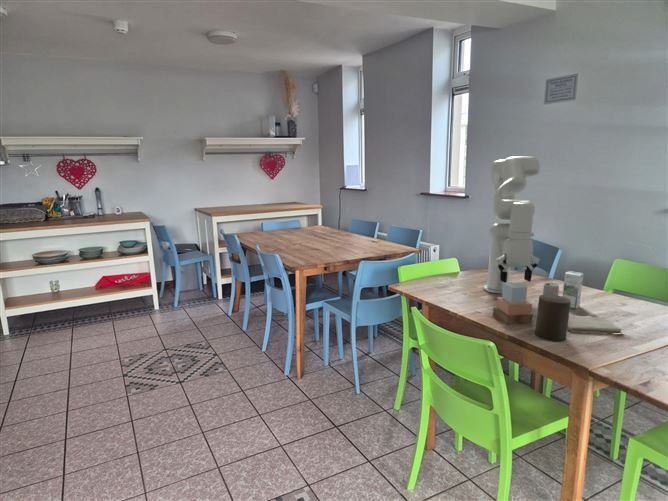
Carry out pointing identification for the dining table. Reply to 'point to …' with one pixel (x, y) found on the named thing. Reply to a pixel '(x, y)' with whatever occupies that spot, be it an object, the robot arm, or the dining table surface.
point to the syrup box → (573, 287)
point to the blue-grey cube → (514, 292)
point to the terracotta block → (514, 307)
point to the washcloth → (591, 325)
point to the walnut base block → (512, 317)
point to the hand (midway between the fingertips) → (515, 281)
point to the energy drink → (551, 289)
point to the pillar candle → (552, 317)
